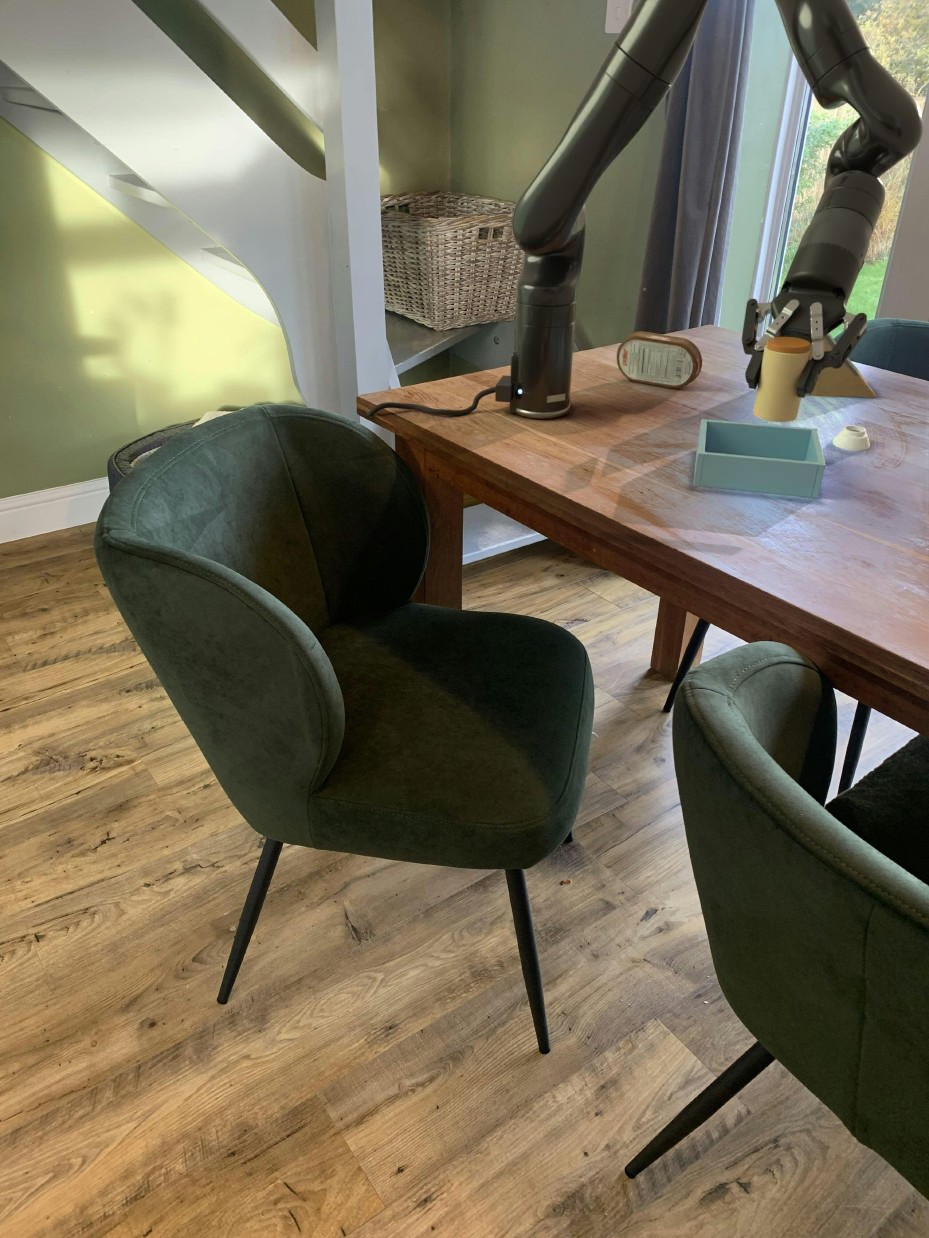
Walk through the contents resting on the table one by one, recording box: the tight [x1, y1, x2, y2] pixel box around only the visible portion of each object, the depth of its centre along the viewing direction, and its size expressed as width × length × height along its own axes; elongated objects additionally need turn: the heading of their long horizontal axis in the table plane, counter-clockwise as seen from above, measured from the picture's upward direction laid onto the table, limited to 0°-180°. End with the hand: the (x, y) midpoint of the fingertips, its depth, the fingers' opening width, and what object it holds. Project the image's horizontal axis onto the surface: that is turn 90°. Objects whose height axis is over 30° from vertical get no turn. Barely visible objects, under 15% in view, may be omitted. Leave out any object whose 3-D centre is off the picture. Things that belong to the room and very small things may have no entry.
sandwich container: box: [806, 333, 878, 399], centre depth 148 cm, size 9×15×15 cm, turn 82°
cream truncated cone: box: [832, 424, 871, 452], centre depth 127 cm, size 5×3×5 cm
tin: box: [616, 330, 703, 390], centre depth 152 cm, size 15×3×8 cm, turn 58°
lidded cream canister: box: [752, 337, 811, 423], centre depth 101 cm, size 5×5×8 cm
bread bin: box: [692, 418, 826, 499], centre depth 118 cm, size 16×14×5 cm
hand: (775, 389), depth 100 cm, fingers closed on lidded cream canister, 5 cm apart
